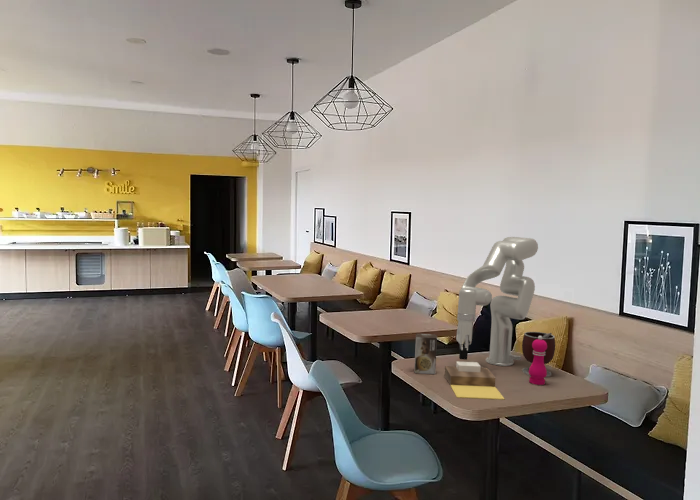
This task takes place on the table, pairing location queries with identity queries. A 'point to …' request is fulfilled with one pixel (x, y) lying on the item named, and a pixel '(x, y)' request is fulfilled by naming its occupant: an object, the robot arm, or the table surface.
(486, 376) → the walnut board
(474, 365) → the white rectangular block
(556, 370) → the table surface
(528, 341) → the mate gourd
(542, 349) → the pepper mill
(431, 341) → the coffee box
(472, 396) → the mustard mat
